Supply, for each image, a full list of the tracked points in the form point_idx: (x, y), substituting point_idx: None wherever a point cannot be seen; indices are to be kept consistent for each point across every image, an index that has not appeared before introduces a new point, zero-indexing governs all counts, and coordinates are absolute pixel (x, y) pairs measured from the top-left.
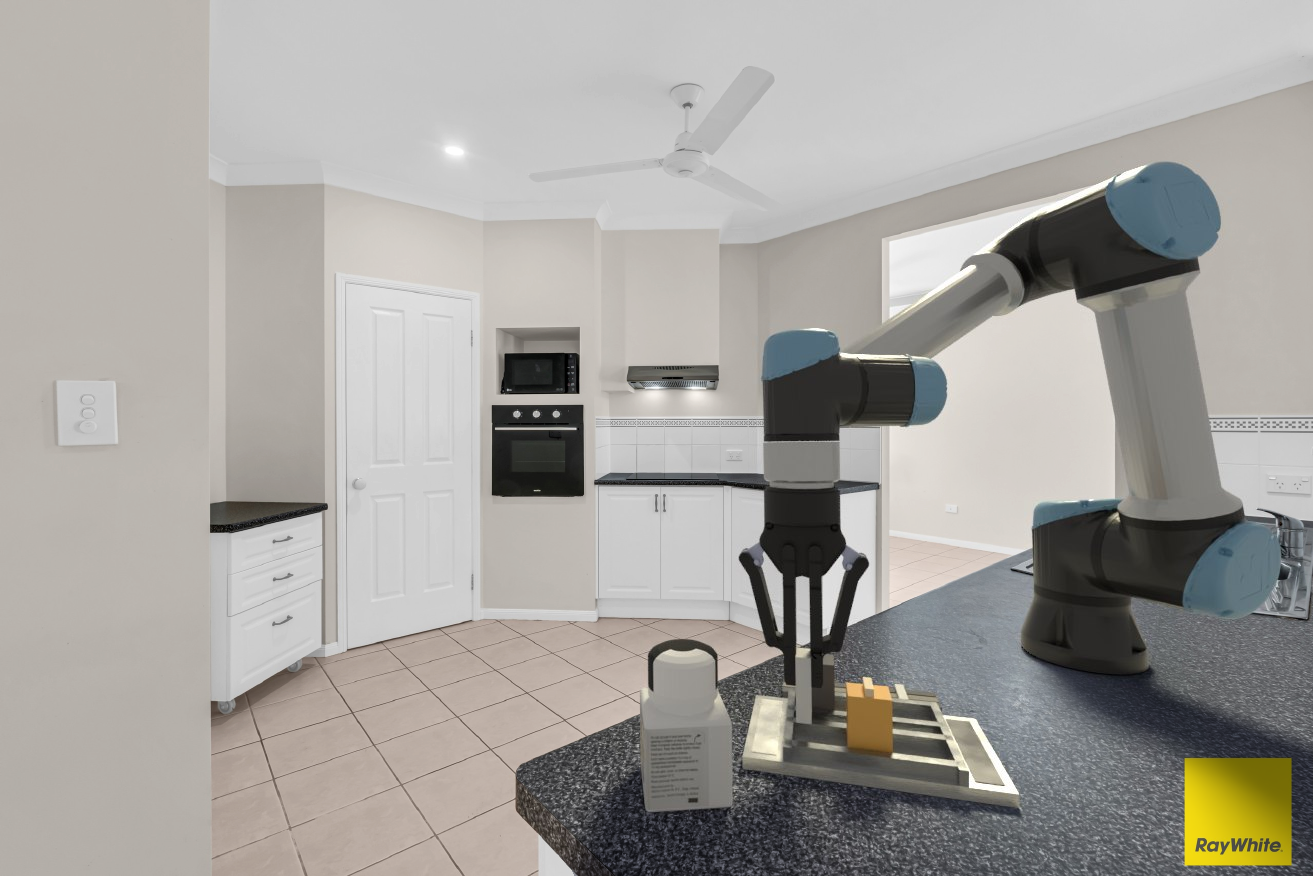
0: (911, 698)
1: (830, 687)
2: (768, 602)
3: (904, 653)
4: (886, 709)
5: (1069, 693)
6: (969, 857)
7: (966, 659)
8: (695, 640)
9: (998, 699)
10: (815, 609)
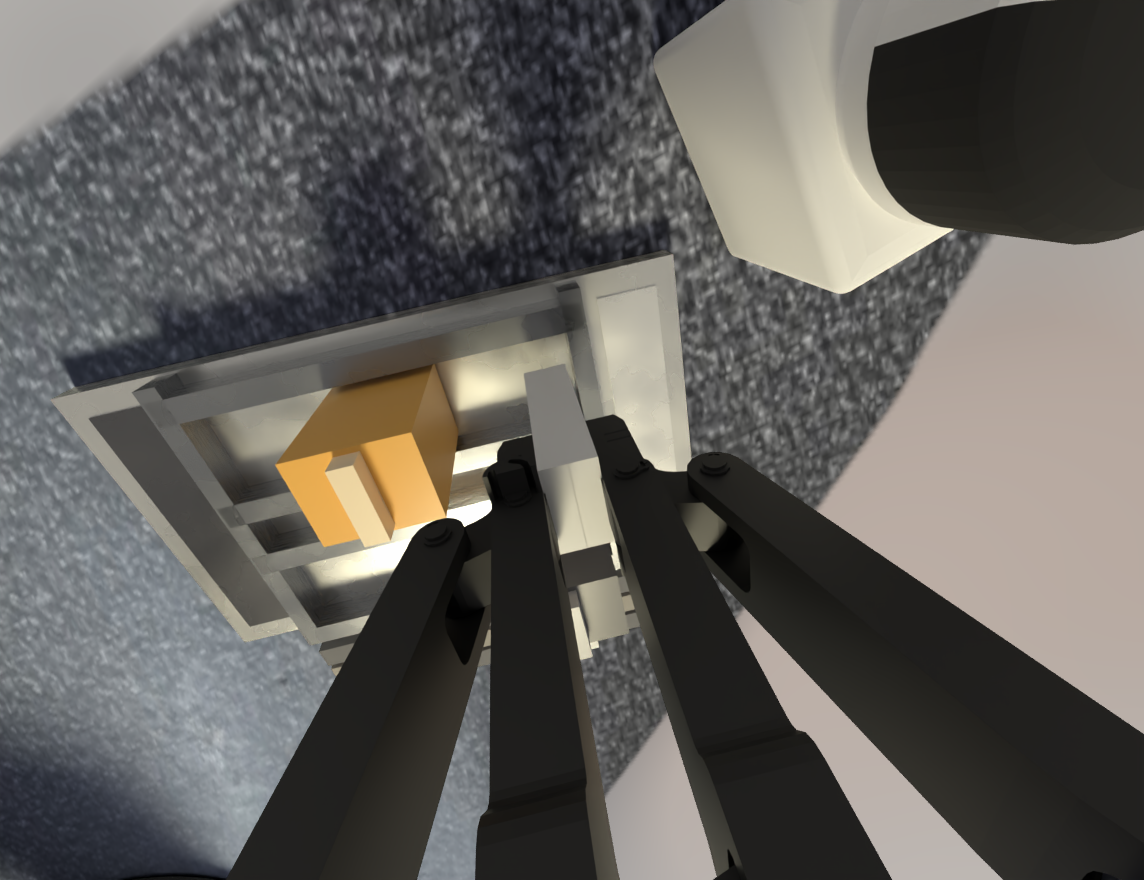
0: None
1: None
2: (826, 616)
3: (458, 807)
4: (303, 446)
5: (147, 805)
6: (90, 136)
7: None
8: (1134, 187)
9: (252, 737)
10: (531, 654)
